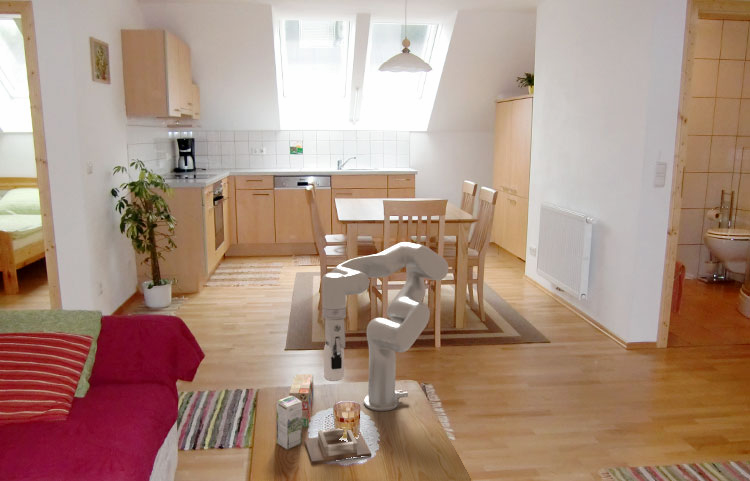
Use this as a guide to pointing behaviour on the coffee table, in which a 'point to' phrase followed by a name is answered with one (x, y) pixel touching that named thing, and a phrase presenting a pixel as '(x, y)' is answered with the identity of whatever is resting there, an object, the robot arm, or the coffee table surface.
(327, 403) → the coffee table surface
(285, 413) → the syrup box
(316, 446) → the collar board
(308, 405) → the stack of blocks
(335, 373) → the can
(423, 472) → the coffee table surface
